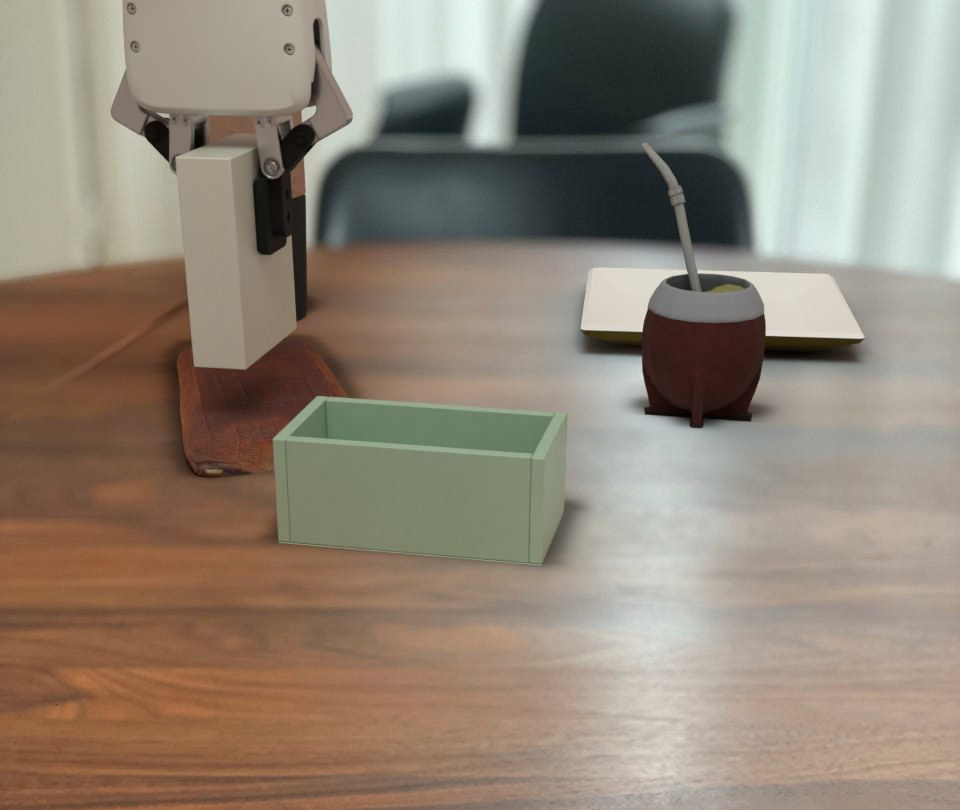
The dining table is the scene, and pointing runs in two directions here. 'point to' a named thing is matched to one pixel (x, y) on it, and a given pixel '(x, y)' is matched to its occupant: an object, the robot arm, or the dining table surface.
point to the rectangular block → (230, 258)
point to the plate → (786, 296)
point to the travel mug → (245, 124)
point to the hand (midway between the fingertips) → (240, 245)
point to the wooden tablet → (247, 406)
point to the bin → (421, 479)
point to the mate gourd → (701, 336)
